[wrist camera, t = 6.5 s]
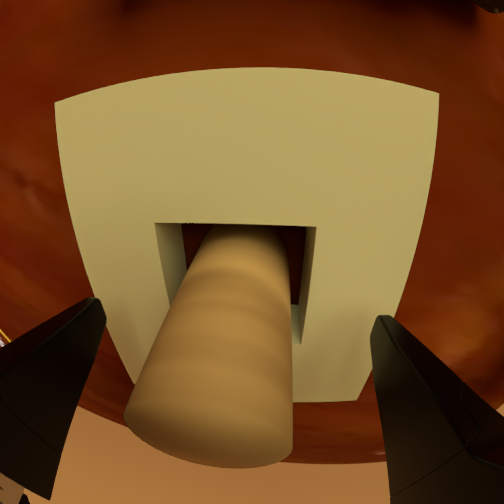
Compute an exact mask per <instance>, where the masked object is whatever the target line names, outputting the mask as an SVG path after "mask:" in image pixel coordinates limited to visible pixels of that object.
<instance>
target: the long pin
mask: <svg viewBox="0 0 504 504" xmlns="http://www.w3.org/2000/svg"><path fill="white" fill-rule="evenodd" d="M123 416H124V420H125V423H126V425H127V426H128V428H129V429H130V430H131V431H132V432H133V433H134V434H135V435H136V436H137V437H139V438H140V439H141V440H143V441H144V442H146V443H147V444H149V445H151V446H152V447H154V448H156V449H158V450H160V451H162V452H164V453H166V454H169V455H171V456H174V457H177V458H180V459H182V460H186V461H189V462H193V463H197V464H202V465H207V466H213V467H221V468H255V467H261V466H266V465H270V464H274V463H276V462H279V461H281V460H283V459H284V458H286V457H287V456H288V455H289V454H290V453H291V451H292V447H293V374H292V329H291V300H290V277H289V258H288V248H287V244H286V241H285V239H284V237H283V236H282V234H281V233H280V232H279V230H278V229H277V228H276V227H275V226H273V225H258V224H220V223H216V224H214V225H213V226H212V227H211V228H210V229H209V231H208V232H207V234H206V236H205V237H204V239H203V241H202V243H201V245H200V247H199V249H198V251H197V253H196V255H195V257H194V259H193V261H192V263H191V265H190V267H189V269H188V271H187V273H186V275H185V277H184V279H183V281H182V283H181V285H180V287H179V289H178V291H177V294H176V296H175V298H174V300H173V302H172V304H171V306H170V308H169V310H168V312H167V315H166V317H165V319H164V321H163V323H162V325H161V328H160V330H159V332H158V334H157V336H156V339H155V341H154V343H153V345H152V347H151V350H150V352H149V354H148V356H147V359H146V361H145V363H144V366H143V368H142V370H141V372H140V375H139V377H138V379H137V382H136V384H135V387H134V389H133V391H132V394H131V396H130V399H129V401H128V403H127V406H126V408H125V411H124V415H123Z"/></svg>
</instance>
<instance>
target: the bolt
mask: <svg viewBox="0 0 504 504" xmlns="http://www.w3.org/2000/svg"><path fill="white" fill-rule="evenodd" d="M471 1H473V2H474V3H475V4H477V5H478V6H480V7H481V8H483V9H484V10H486V11H488V12H490V13H498V12H499V13H501V12H504V0H471Z"/></svg>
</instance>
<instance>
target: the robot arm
mask: <svg viewBox="0 0 504 504" xmlns="http://www.w3.org/2000/svg"><path fill="white" fill-rule="evenodd" d="M106 323H107V316H106V314H105V311H104V308H103V306H102V303H101V301H100V299H98V298H95V297H88V298H86V299H84V300H82V301H80V302H79V303H77V304H75V305H73V306H71V307H70V308H68V309H66V310H64V311H63V312H61V313H59V314H57V315H56V316H54V317H52V318H50V319H49V320H47V321H45V322H44V323H42V324H40V325H38V326H37V327H35V328H33V329H32V330H30V331H28V332H27V333H25V334H23V335H22V336H20V337H18V338H17V339H15V340H13V342H10V343H8V344H7V345H5V346H3V347H2V348H0V504H30V503H29V500H28V497H27V495H25V494H24V493H23V491H24V488H26V489H28V490H30V491H31V492H33V493H35V494H37V495H39V496H41V497H43V498H45V499H47V500H50V499H51V495H52V490H53V486H54V482H55V477H56V474H57V470H58V466H59V462H60V458H61V454H62V451H63V447H64V444H65V441H66V437H67V434H68V431H69V428H70V425H71V422H72V419H73V416H74V413H75V410H76V407H77V404H78V402H79V399H80V396H81V393H82V391H83V388H84V385H85V383H86V380H87V378H88V375H89V373H90V370H91V368H92V365H93V363H94V360H95V357H96V354H97V351H98V348H99V344H100V341H101V338H102V335H103V332H104V329H105V326H106ZM370 348H371V358H372V368H373V379H374V386H375V391H376V397H377V402H378V408H379V413H380V419H381V425H382V431H383V438H384V445H385V453H386V460H387V468H388V477H389V489H390V496H391V497H390V504H504V417H503V416H502V415H501V414H500V413H498V412H497V411H496V410H495V409H493V408H492V407H491V406H490V405H489V404H488V403H486V402H485V401H484V400H483V399H482V398H480V397H479V396H478V395H477V394H476V393H475V392H474V391H473V390H472V389H471V388H470V387H469V386H468V385H467V384H466V383H464V382H463V381H462V380H461V379H460V378H459V377H458V376H457V375H456V374H455V373H454V372H453V371H452V370H451V369H450V368H449V367H447V366H446V365H445V364H444V363H443V362H442V361H441V360H440V359H439V358H438V357H437V356H436V355H434V354H433V353H432V352H431V351H430V350H429V349H428V348H427V347H426V346H425V345H423V344H422V343H421V342H420V341H419V340H418V339H417V338H416V337H415V336H413V335H412V334H411V333H410V332H409V331H408V330H407V329H406V328H404V327H403V326H402V325H401V324H400V323H399V322H398V321H396V320H395V319H394V318H393V317H392V316H391V315H378V316H377V317H376V319H375V322H374V325H373V328H372V331H371V334H370Z"/></svg>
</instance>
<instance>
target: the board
mask: <svg viewBox="0 0 504 504" xmlns="http://www.w3.org/2000/svg"><path fill="white" fill-rule="evenodd" d="M438 107H439V93H436V92H432V91H429V90H425V89H422V88H418V87H414V86H410V85H406V84H402V83H397V82H393V81H388V80H383V79H378V78H373V77H367V76H361V75H354V74H347V73H340V72H331V71H322V70H310V69H294V68H228V69H213V70H201V71H191V72H183V73H175V74H168V75H161V76H155V77H150V78H144V79H139V80H134V81H129V82H125V83H120V84H116V85H112V86H108V87H104V88H100V89H96V90H93V91H89V92H86V93H83V94H79V95H76V96H73V97H70V98H67V99H64V100H61V101H58V102H55V117H56V129H57V139H58V147H59V155H60V162H61V168H62V175H63V180H64V186H65V191H66V196H67V201H68V206H69V210H70V215H71V219H72V223H73V227H74V231H75V235H76V238H77V242H78V246H79V249H80V253H81V256H82V259H83V263H84V266H85V269H86V272H87V275H88V278H89V281H90V284H91V287H92V290H93V293H94V295H95V298H98V299H100V301H101V303H102V306H103V308H104V311H105V314H106V316H107V323H106V326H107V329H108V331H109V333H110V336H111V338H112V340H113V342H114V345H115V347H116V349H117V351H118V353H119V356H120V358H121V360H122V362H123V364H124V366H125V368H126V370H127V372H128V374H129V376H130V378H131V380H132V382H133V384H136V382H137V379H138V377H139V375H140V372H141V370H142V368H143V366H144V363H145V361H146V359H147V356H148V354H149V352H150V350H151V347H152V345H153V343H154V341H155V339H156V336H157V334H158V332H159V330H160V328H161V325H162V323H163V321H164V319H165V317H166V315H167V312H168V310H169V308H170V306H171V304H172V302H173V300H174V298H175V296H176V294H177V291H178V289H179V287H180V285H181V283H182V281H183V279H184V277H185V275H186V273H187V265H186V258H185V251H184V243H183V235H182V227H181V223H220V224H258V225H288V226H306V237H305V248H304V259H303V269H302V278H301V288H300V296H299V305H291V329H292V374H293V402H332V401H351V400H357V398H358V396H359V394H360V392H361V391H362V389H363V387H364V385H365V382H366V380H367V378H368V376H369V374H370V372H371V370H372V358H371V348H370V334H371V331H372V328H373V325H374V322H375V319H376V317H377V316H378V315H391V316H392V317H393V318H394V315H395V312H396V310H397V307H398V304H399V301H400V298H401V295H402V292H403V289H404V286H405V283H406V280H407V277H408V274H409V270H410V267H411V264H412V260H413V257H414V253H415V249H416V246H417V242H418V238H419V234H420V230H421V226H422V221H423V217H424V212H425V207H426V202H427V197H428V192H429V186H430V181H431V174H432V168H433V161H434V153H435V144H436V135H437V123H438Z"/></svg>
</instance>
